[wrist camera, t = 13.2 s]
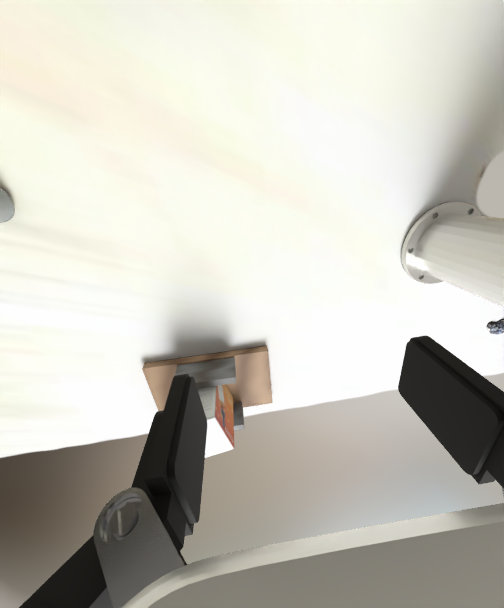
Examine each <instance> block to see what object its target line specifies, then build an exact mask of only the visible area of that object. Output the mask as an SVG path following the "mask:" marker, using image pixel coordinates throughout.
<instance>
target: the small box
mask: <svg viewBox="0 0 504 608" xmlns="http://www.w3.org/2000/svg"><path fill="white" fill-rule="evenodd" d="M198 392H199V396H200V399H201V402H202V405H203V409H204V412H205V415H206V418H207V436H206V448H205V457H209V456H212V455H215V454H219V453H222V452H225V451H228V450H231V449H234V416H233V396H232V394H231V393H230V391H229V389H228V387H227V385H226V384H225V385H218V386H211V387H204V388H198Z"/></svg>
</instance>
